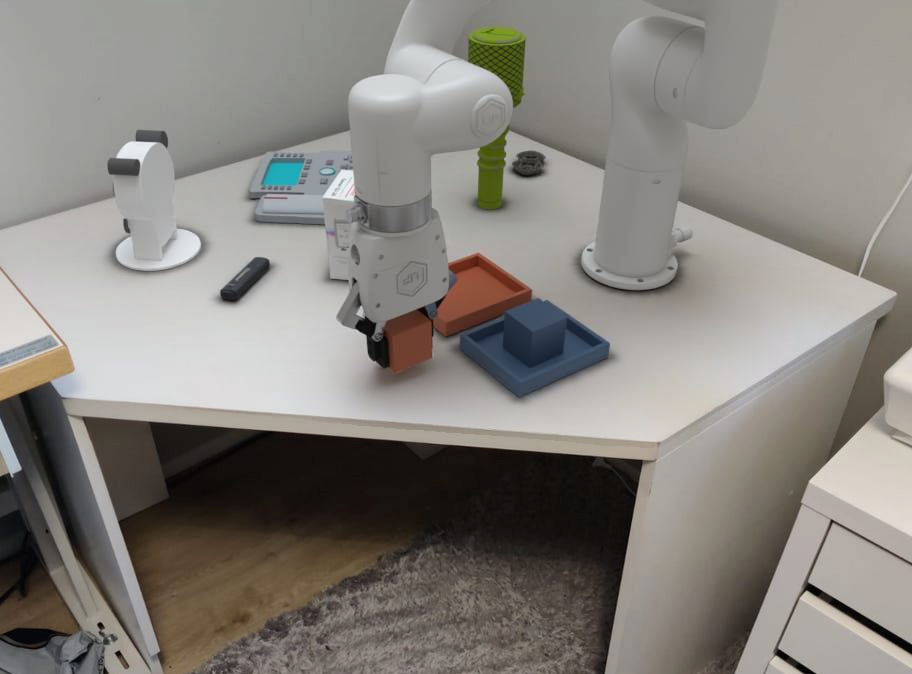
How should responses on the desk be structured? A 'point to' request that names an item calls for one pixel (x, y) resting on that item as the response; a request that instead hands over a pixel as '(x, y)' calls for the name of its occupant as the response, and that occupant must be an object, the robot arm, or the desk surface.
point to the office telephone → (296, 185)
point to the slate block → (534, 332)
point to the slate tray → (522, 380)
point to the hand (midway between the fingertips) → (401, 351)
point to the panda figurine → (149, 205)
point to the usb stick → (244, 278)
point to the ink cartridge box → (339, 222)
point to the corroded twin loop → (529, 162)
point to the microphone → (506, 60)
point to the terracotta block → (408, 340)
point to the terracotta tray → (478, 294)
